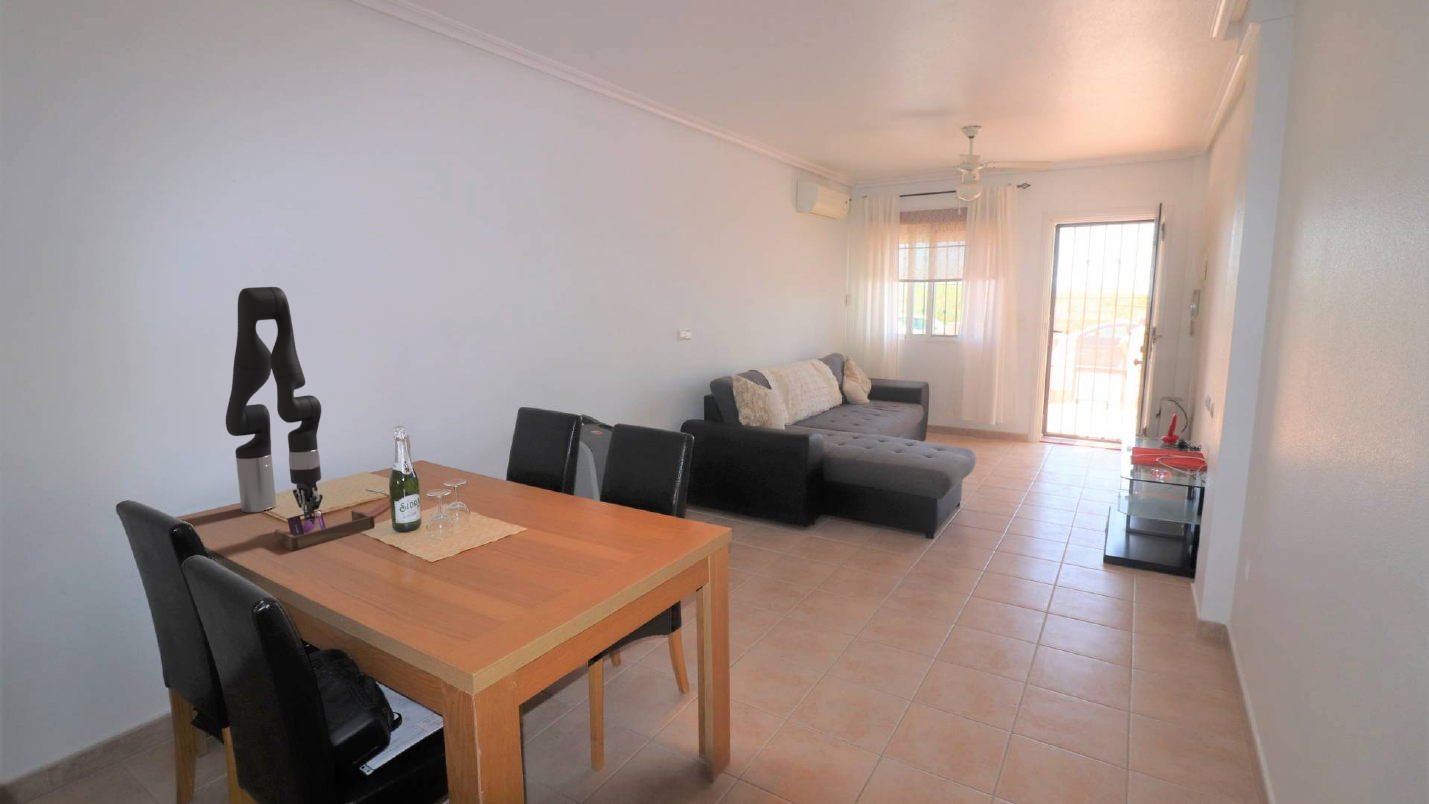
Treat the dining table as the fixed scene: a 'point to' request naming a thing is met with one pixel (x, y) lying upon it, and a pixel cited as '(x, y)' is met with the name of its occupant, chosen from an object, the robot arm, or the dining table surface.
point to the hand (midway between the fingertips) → (310, 523)
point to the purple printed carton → (304, 523)
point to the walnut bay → (326, 532)
